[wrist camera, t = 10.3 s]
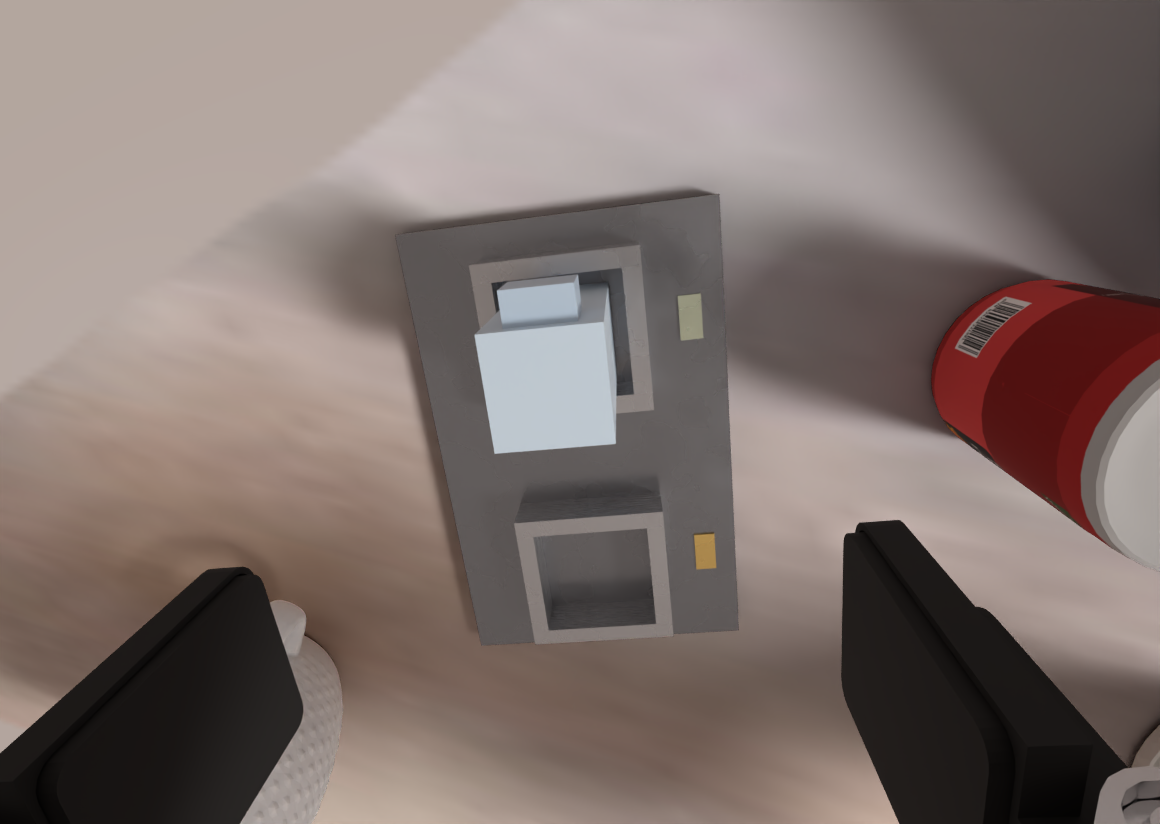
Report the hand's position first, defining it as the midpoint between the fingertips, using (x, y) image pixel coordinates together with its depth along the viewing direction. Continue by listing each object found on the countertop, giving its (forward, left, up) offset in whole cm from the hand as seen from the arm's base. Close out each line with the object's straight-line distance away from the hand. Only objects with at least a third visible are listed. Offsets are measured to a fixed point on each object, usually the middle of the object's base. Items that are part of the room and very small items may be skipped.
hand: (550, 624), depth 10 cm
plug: (+1, +1, -19) cm, 19 cm away
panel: (-5, +1, -20) cm, 21 cm away
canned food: (-3, -19, -21) cm, 28 cm away
